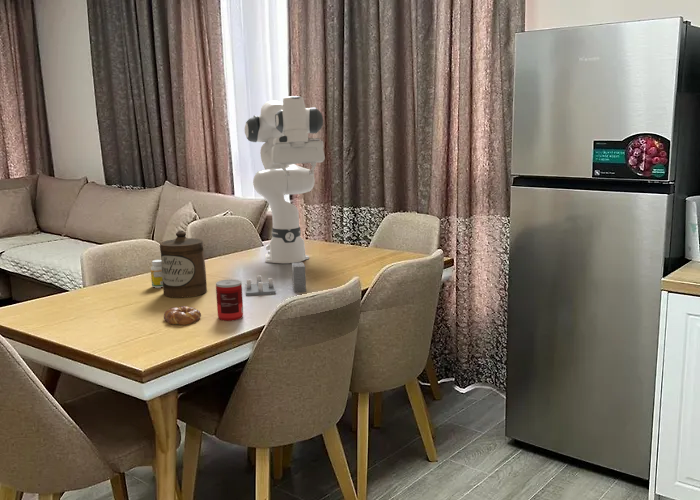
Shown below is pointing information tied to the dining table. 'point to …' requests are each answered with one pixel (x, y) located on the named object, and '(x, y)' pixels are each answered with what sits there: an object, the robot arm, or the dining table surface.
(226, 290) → the canned food
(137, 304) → the dining table surface
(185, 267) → the wooden container
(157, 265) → the supplement bottle
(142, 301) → the dining table surface
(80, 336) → the dining table surface
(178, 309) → the pretzel
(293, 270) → the block
